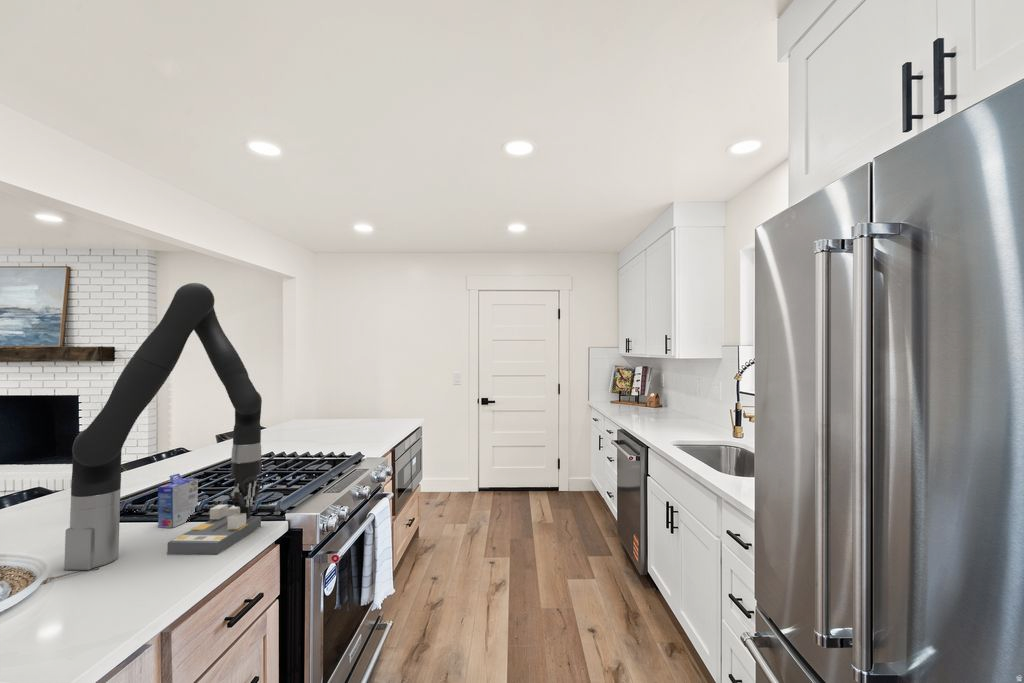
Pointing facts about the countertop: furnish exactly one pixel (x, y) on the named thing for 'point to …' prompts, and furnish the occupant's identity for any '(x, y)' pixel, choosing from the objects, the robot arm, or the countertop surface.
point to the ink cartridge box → (177, 501)
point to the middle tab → (232, 511)
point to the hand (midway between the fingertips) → (245, 519)
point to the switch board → (211, 537)
